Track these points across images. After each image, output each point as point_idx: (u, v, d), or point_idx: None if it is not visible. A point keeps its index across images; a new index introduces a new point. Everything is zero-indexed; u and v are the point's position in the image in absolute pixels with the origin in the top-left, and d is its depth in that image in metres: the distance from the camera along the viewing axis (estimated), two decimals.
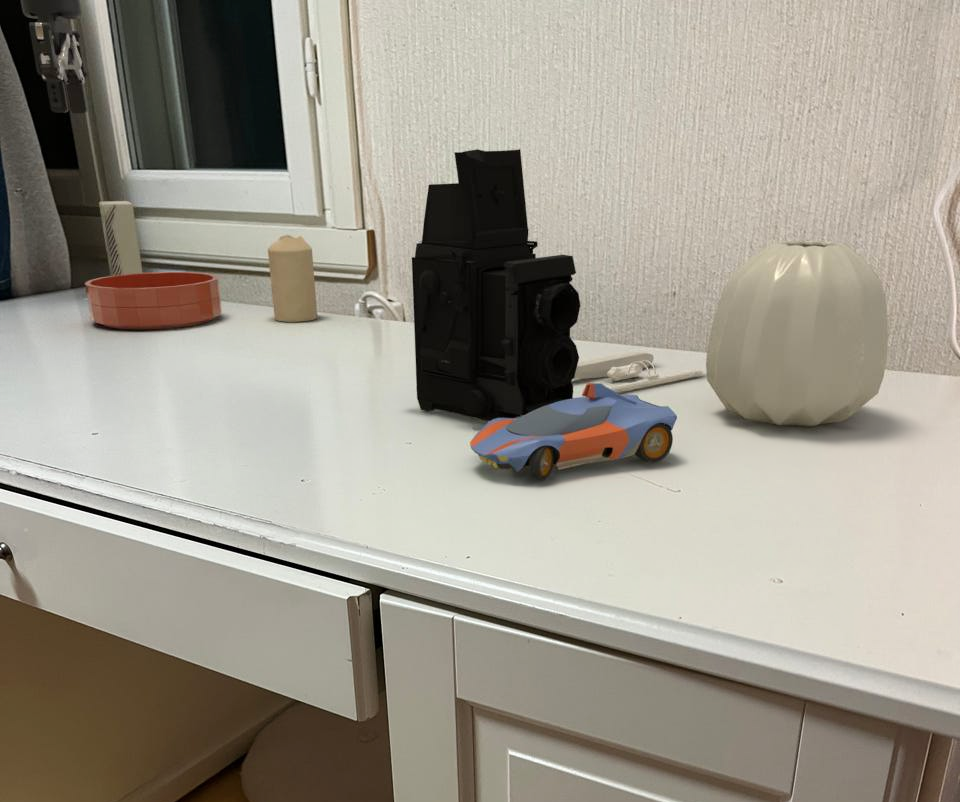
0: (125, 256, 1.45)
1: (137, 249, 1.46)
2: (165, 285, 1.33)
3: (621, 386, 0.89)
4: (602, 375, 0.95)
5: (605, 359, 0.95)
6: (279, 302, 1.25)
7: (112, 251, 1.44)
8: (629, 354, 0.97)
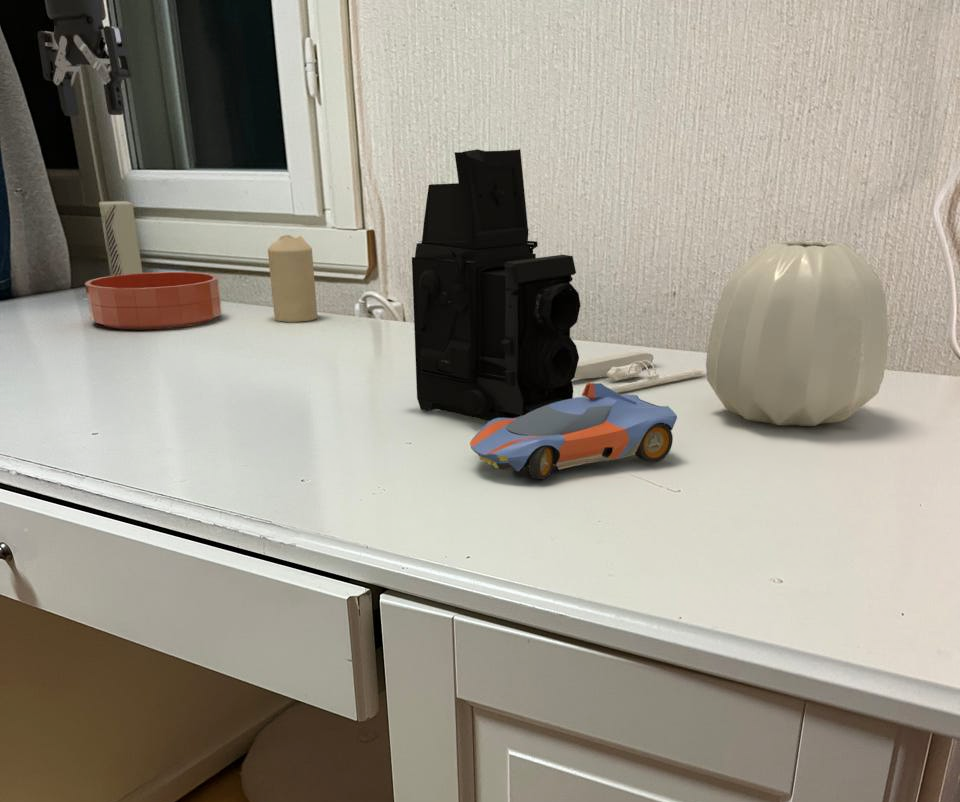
0: (125, 256, 1.45)
1: (137, 249, 1.46)
2: (165, 285, 1.33)
3: (621, 386, 0.89)
4: (602, 375, 0.95)
5: (605, 359, 0.95)
6: (279, 302, 1.25)
7: (112, 251, 1.44)
8: (629, 354, 0.97)
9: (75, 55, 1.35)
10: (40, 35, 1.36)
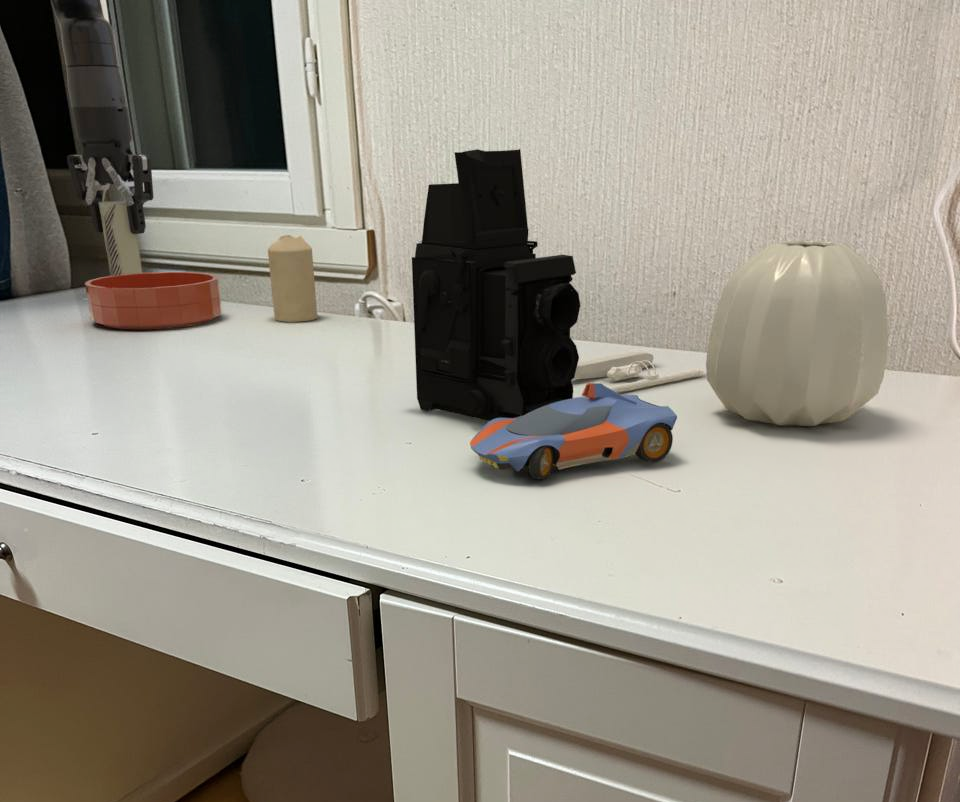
0: (125, 256, 1.45)
1: (137, 249, 1.46)
2: (165, 285, 1.33)
3: (621, 386, 0.89)
4: (602, 375, 0.96)
5: (605, 359, 0.95)
6: (279, 302, 1.25)
7: (112, 251, 1.44)
8: (629, 354, 0.97)
9: (103, 175, 1.42)
10: (69, 159, 1.43)
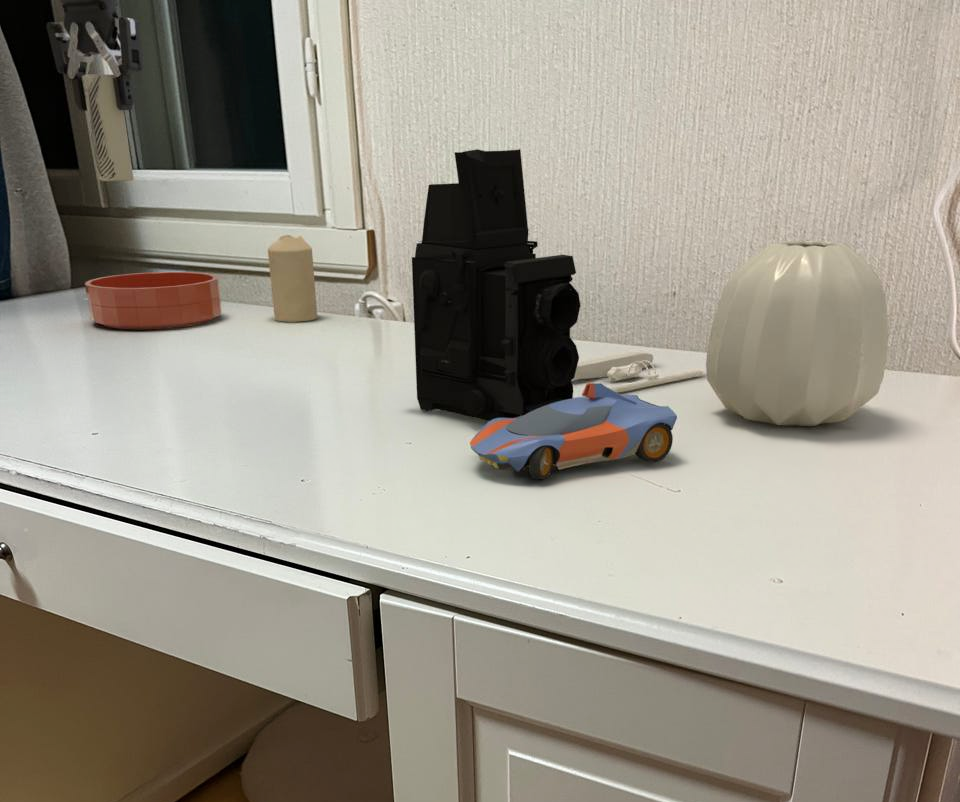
0: (111, 135, 1.33)
1: (124, 128, 1.33)
2: (165, 285, 1.33)
3: (621, 386, 0.89)
4: (602, 375, 0.96)
5: (605, 359, 0.95)
6: (279, 302, 1.25)
7: (96, 129, 1.32)
8: (629, 354, 0.97)
9: (86, 43, 1.29)
10: (49, 26, 1.30)
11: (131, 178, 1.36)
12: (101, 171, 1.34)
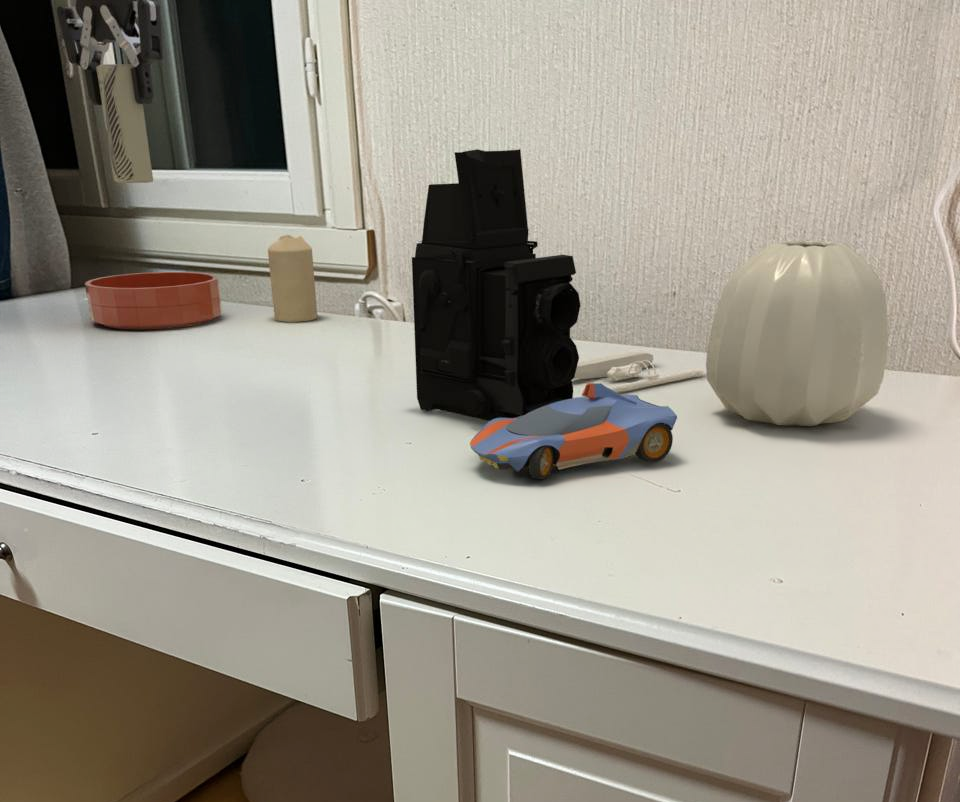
0: (129, 132, 1.20)
1: (143, 124, 1.20)
2: (165, 285, 1.33)
3: (621, 386, 0.89)
4: (602, 375, 0.96)
5: (605, 359, 0.95)
6: (279, 302, 1.25)
7: (112, 125, 1.19)
8: (629, 354, 0.97)
9: (101, 29, 1.16)
10: (60, 11, 1.17)
11: (151, 179, 1.23)
12: (118, 172, 1.21)
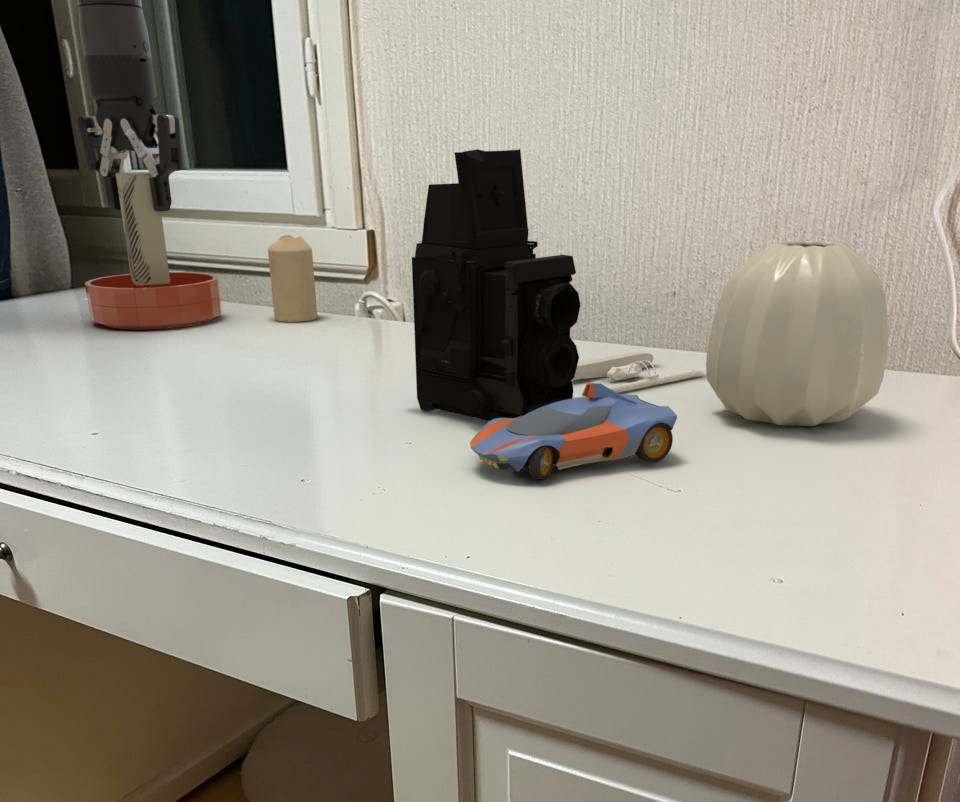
0: (147, 238, 1.22)
1: (161, 229, 1.22)
2: (165, 285, 1.33)
3: (621, 386, 0.89)
4: (602, 375, 0.96)
5: (605, 359, 0.95)
6: (279, 302, 1.25)
7: (131, 232, 1.21)
8: (629, 354, 0.97)
9: (121, 140, 1.18)
10: (81, 121, 1.19)
11: (168, 282, 1.25)
12: (135, 276, 1.23)
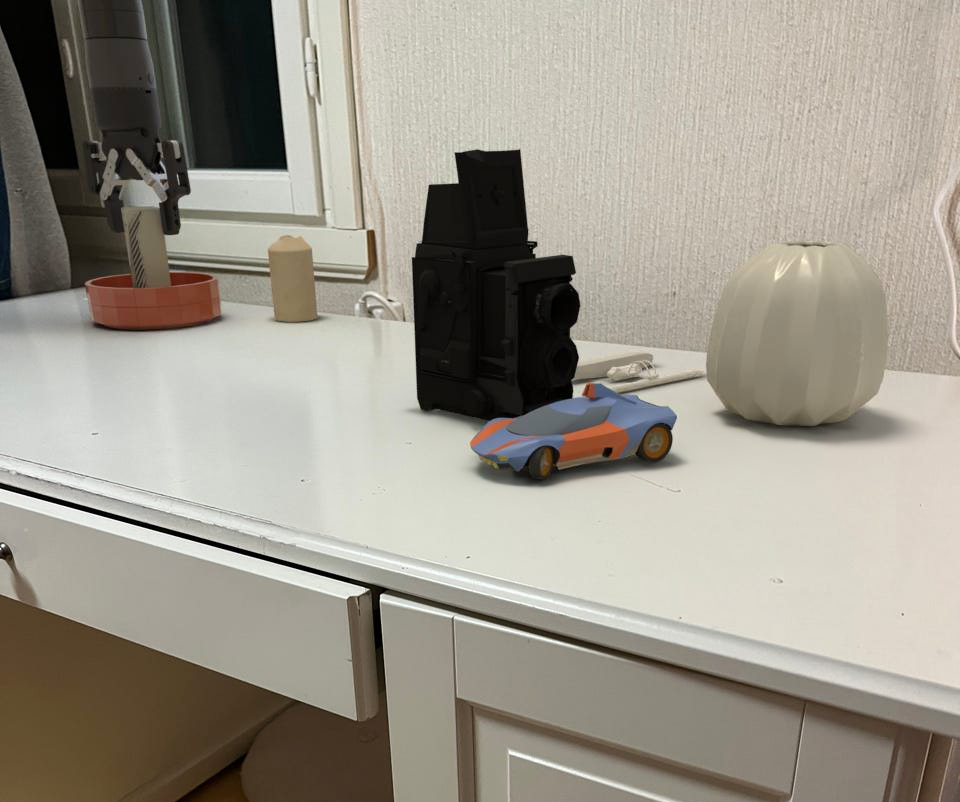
0: (152, 272, 1.23)
1: (166, 263, 1.24)
2: None
3: (621, 386, 0.89)
4: (602, 375, 0.96)
5: (605, 359, 0.95)
6: (279, 302, 1.25)
7: (136, 266, 1.22)
8: (629, 354, 0.97)
9: (126, 169, 1.19)
10: (86, 146, 1.20)
11: None
12: None
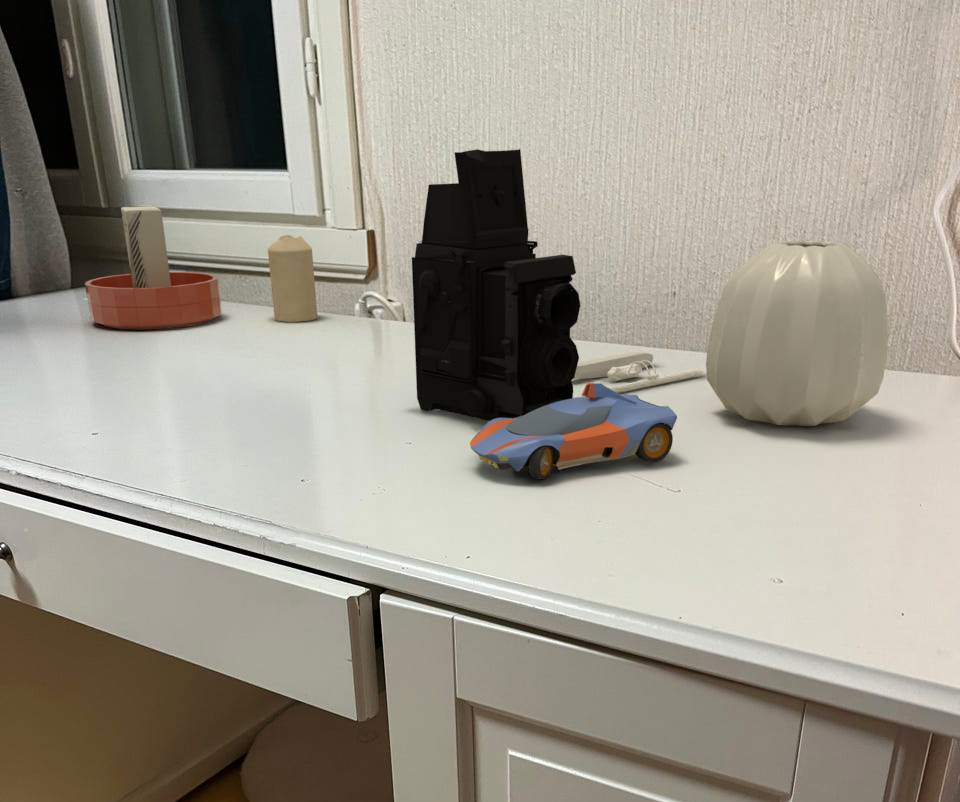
0: (152, 272, 1.23)
1: (166, 263, 1.24)
2: None
3: (621, 386, 0.89)
4: (602, 375, 0.96)
5: (605, 359, 0.95)
6: (279, 302, 1.25)
7: (136, 266, 1.22)
8: (629, 354, 0.97)
9: None
10: None
11: None
12: None
